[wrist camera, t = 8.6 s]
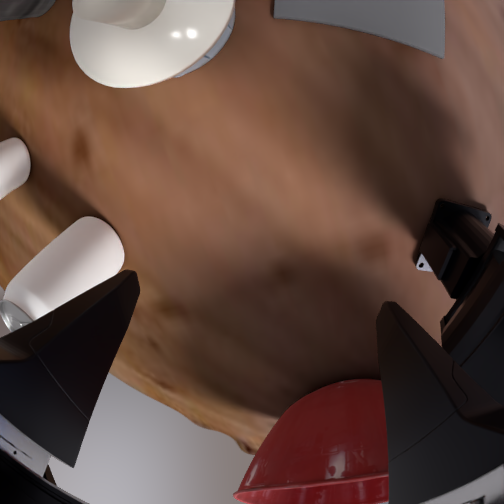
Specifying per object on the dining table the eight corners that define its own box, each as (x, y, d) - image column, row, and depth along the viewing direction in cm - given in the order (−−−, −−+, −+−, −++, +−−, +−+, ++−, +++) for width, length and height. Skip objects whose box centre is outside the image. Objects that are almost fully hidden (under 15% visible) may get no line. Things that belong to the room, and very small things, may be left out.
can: (65, 218, 23) (-16, 292, 13) (113, 210, 22) (22, 298, 12) (88, 272, 27) (25, 354, 17) (135, 271, 26) (72, 369, 15)
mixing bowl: (232, 424, 42) (217, 504, 29) (285, 316, 26) (275, 479, 13) (374, 438, 42) (378, 506, 29) (477, 350, 27) (510, 444, 14)
